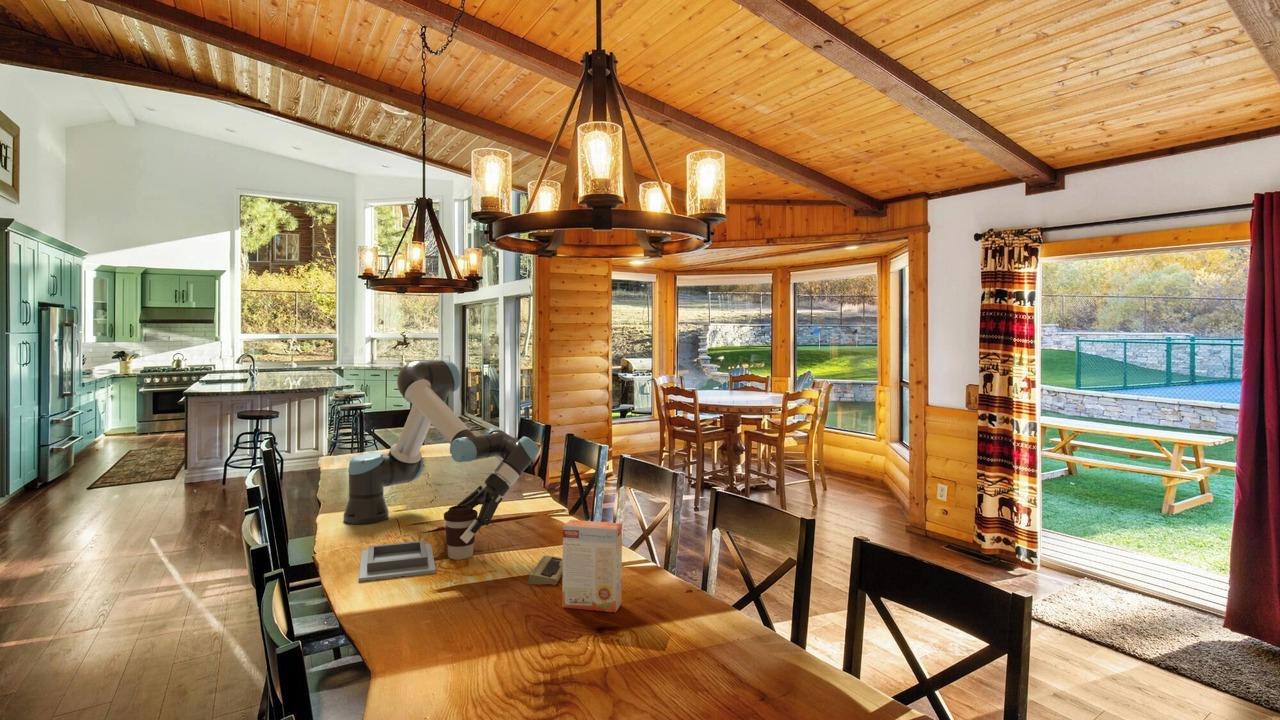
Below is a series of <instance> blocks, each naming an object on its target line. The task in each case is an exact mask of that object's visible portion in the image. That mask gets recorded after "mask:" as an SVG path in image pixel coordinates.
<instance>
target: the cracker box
mask: <svg viewBox="0 0 1280 720" xmlns="http://www.w3.org/2000/svg"><path fill="white" fill-rule="evenodd" d="M622 554H623V524H622V523H619V522H607V521H591V520H580V519H579V520H578V519H570V520H569V521H567V522H565V524H564V525H562V558H563V574H562V591H561V592H562V593H561V594H562V597H561V598H562V608H568V609H577V610H585V611H594V610H595V611H594V612H603V611H604V613H605V612H606V613H612V612H614V614H615V613H617V611H619V609H620V606H621V605H622V587H623V586H622V585H623V584H622V583H623V582H622V578H623V577H622V576H623V575H622V574H623V573H622V572H623V570H622V569H623V567H622V566H623V565H622V564H623V562H622V559H623V557H622V556H623V555H622Z"/></svg>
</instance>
